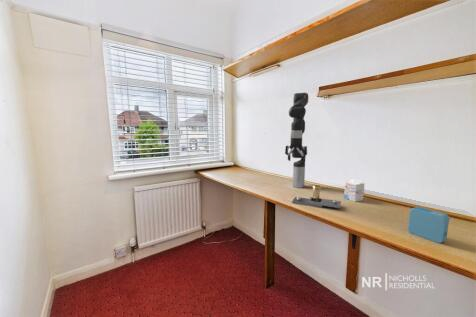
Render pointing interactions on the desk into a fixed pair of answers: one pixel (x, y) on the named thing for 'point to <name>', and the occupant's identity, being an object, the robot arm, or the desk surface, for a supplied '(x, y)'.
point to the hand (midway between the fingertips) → (295, 161)
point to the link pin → (316, 192)
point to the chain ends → (317, 204)
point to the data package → (428, 224)
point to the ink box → (354, 190)
